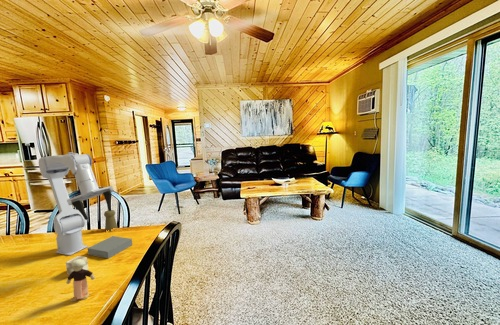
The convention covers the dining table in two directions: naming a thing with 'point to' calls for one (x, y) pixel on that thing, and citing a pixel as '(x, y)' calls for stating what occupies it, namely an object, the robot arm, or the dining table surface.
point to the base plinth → (109, 247)
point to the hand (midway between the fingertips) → (98, 214)
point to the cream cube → (69, 263)
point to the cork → (110, 220)
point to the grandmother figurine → (79, 280)
